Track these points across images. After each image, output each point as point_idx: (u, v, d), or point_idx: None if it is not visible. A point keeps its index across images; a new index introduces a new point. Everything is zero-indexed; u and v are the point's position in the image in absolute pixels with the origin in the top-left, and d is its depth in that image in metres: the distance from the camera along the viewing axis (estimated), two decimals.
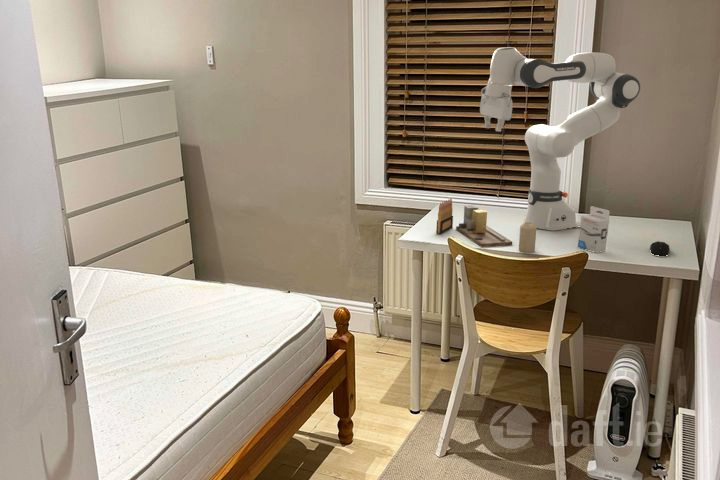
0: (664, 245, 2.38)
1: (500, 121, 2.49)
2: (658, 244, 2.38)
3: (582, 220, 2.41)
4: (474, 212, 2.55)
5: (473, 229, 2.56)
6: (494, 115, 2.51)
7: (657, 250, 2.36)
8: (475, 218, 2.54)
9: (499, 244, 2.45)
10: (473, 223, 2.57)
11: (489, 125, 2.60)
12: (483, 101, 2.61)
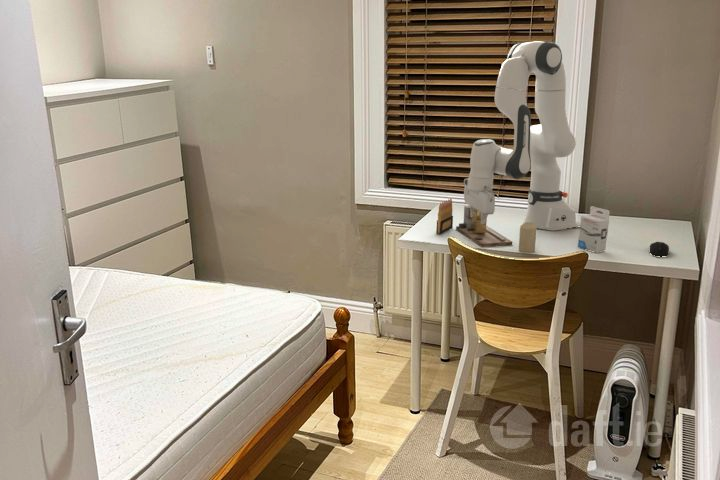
0: (663, 245, 2.37)
1: (483, 214, 2.49)
2: (657, 244, 2.37)
3: (582, 220, 2.41)
4: (474, 212, 2.55)
5: (473, 229, 2.56)
6: (478, 208, 2.51)
7: (657, 251, 2.35)
8: (475, 218, 2.54)
9: (499, 244, 2.45)
10: (473, 223, 2.57)
11: None
12: (467, 191, 2.60)
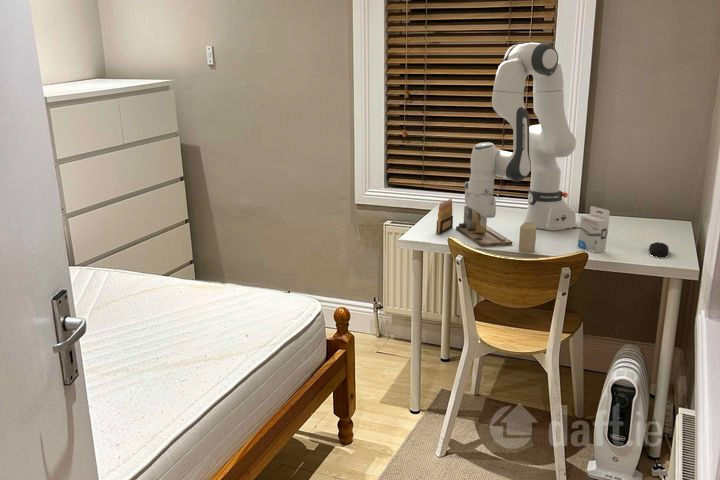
0: (663, 246, 2.37)
1: (483, 216, 2.51)
2: (657, 245, 2.37)
3: (582, 220, 2.41)
4: (474, 212, 2.55)
5: (473, 229, 2.56)
6: (479, 211, 2.51)
7: (657, 251, 2.35)
8: (475, 218, 2.54)
9: (499, 244, 2.45)
10: (473, 223, 2.57)
11: None
12: (467, 194, 2.60)
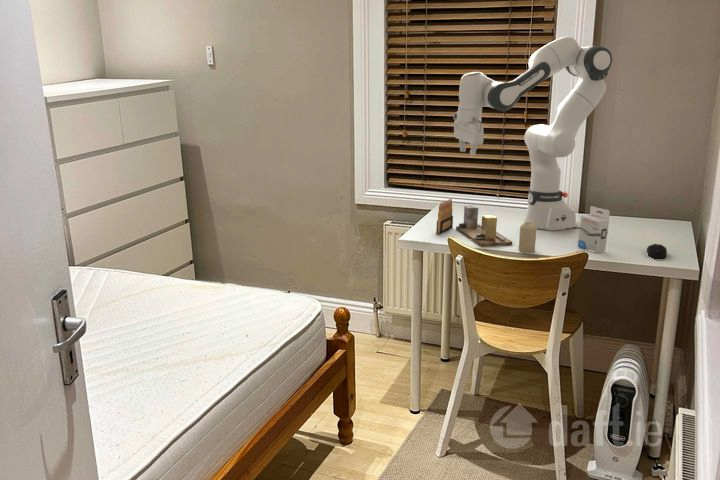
0: (661, 248, 2.34)
1: (473, 146, 2.53)
2: (655, 247, 2.35)
3: (582, 220, 2.41)
4: (483, 218, 2.47)
5: (482, 235, 2.48)
6: (467, 140, 2.55)
7: (655, 253, 2.32)
8: (484, 224, 2.47)
9: (499, 244, 2.45)
10: (482, 229, 2.49)
11: (464, 148, 2.64)
12: (456, 126, 2.64)
